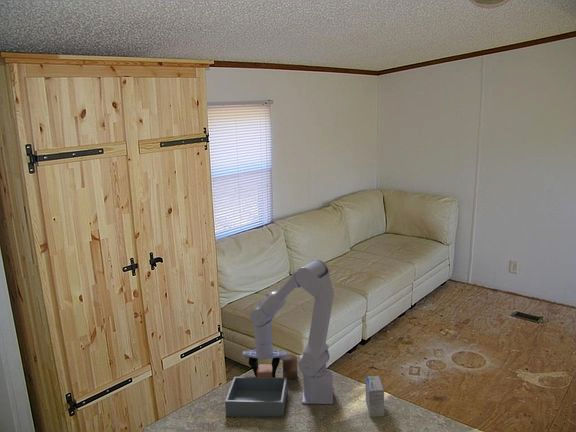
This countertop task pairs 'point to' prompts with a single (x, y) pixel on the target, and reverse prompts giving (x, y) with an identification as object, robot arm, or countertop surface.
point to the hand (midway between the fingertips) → (265, 377)
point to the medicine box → (374, 396)
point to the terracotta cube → (264, 370)
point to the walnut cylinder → (290, 367)
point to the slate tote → (256, 397)
